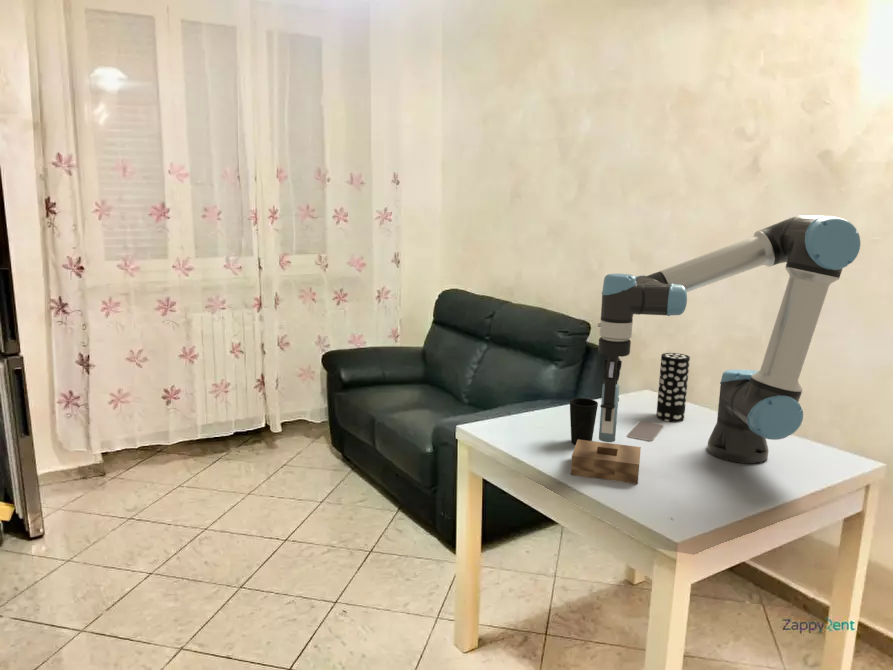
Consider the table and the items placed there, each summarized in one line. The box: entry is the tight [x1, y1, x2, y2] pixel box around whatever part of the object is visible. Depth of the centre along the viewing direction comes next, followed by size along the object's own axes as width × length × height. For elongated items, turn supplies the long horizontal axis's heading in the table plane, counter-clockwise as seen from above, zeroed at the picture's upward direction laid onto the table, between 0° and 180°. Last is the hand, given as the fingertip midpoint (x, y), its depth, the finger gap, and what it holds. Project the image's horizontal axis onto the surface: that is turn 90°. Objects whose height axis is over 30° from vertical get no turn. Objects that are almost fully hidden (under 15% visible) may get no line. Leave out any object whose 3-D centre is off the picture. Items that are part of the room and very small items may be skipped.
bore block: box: [570, 439, 642, 485], centre depth 167 cm, size 16×12×5 cm
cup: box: [569, 397, 599, 446], centre depth 184 cm, size 8×8×12 cm
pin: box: [598, 383, 620, 443], centre depth 164 cm, size 4×4×14 cm
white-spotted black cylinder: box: [655, 352, 691, 423], centre depth 206 cm, size 8×8×20 cm
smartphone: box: [626, 420, 665, 442], centre depth 196 cm, size 7×1×15 cm
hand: (607, 429), depth 165 cm, fingers closed on pin, 4 cm apart
